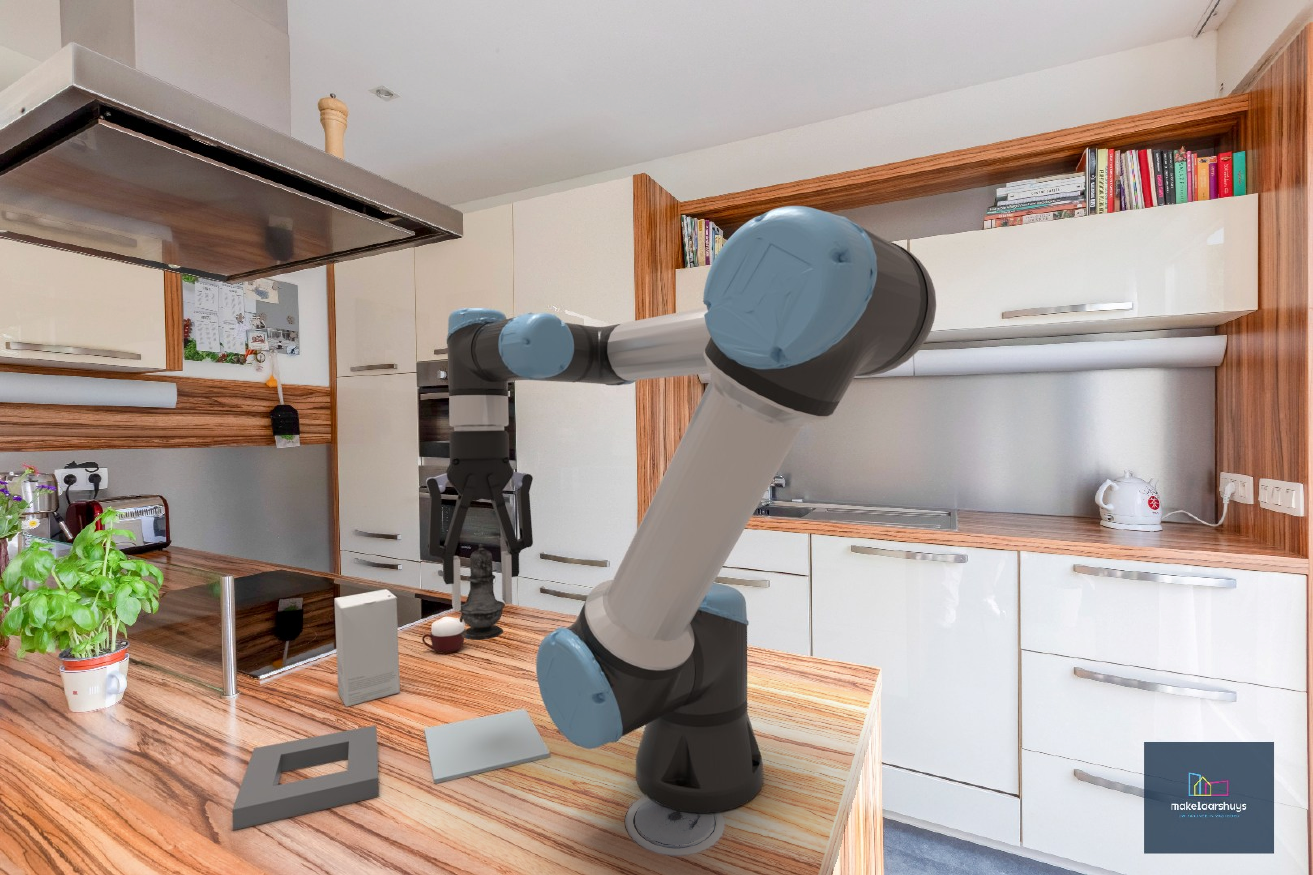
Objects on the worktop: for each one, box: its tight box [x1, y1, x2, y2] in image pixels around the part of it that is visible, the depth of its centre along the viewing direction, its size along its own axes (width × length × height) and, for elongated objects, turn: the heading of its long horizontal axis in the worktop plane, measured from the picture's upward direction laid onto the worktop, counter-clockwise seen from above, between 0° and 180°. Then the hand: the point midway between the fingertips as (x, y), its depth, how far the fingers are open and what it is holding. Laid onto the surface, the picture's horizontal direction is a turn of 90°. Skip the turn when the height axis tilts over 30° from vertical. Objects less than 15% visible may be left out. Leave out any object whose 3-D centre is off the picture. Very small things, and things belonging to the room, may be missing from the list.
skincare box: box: [334, 589, 401, 708], centre depth 100 cm, size 8×7×16 cm
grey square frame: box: [231, 724, 380, 831], centre depth 76 cm, size 14×14×2 cm
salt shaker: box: [458, 542, 506, 641], centre depth 83 cm, size 6×6×12 cm
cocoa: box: [421, 590, 470, 654], centre depth 119 cm, size 10×6×12 cm, turn 85°
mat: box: [423, 708, 551, 785], centre depth 84 cm, size 14×14×1 cm
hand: (482, 604), depth 83 cm, fingers closed on salt shaker, 6 cm apart
